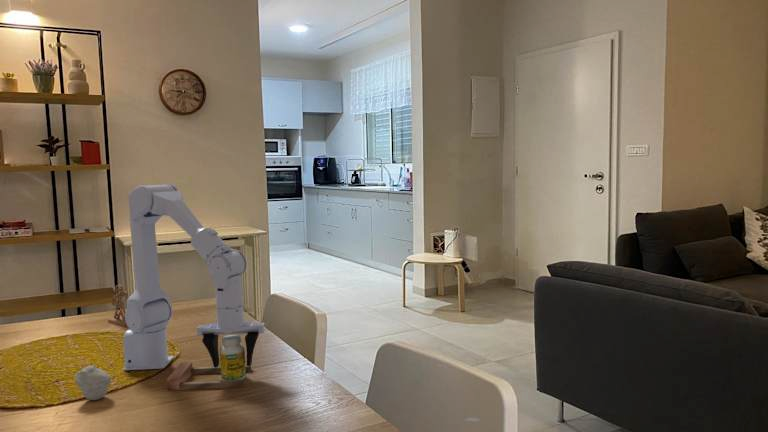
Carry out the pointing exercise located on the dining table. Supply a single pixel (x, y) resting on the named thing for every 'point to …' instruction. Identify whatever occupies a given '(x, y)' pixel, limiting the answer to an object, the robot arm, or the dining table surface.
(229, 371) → the supplement bottle
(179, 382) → the guide channel
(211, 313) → the dining table surface
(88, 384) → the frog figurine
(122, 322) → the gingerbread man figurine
